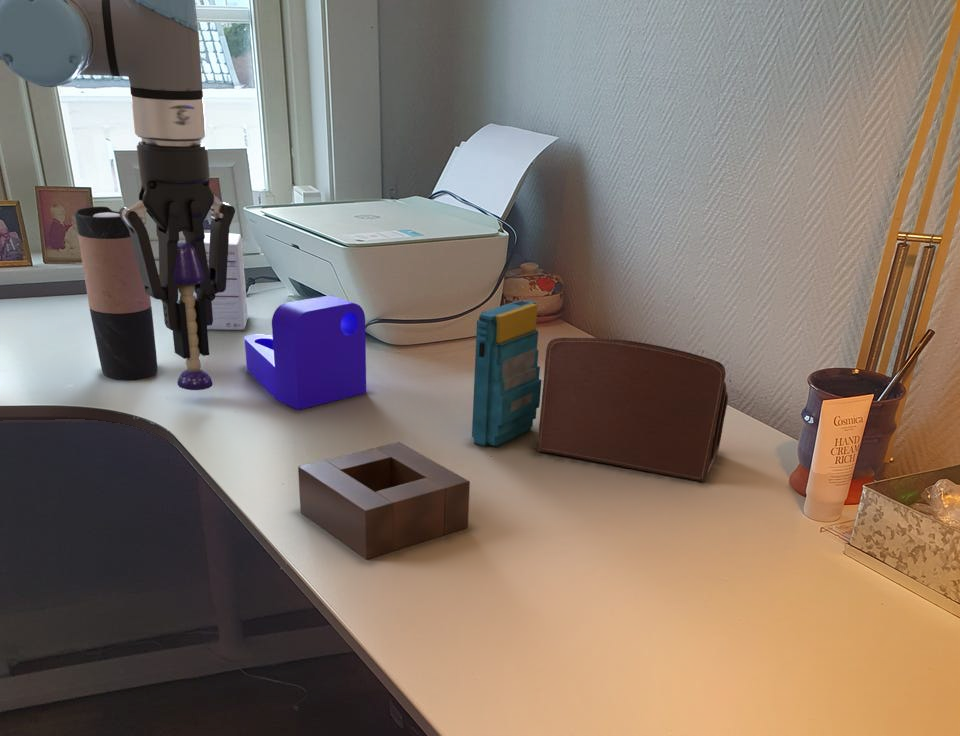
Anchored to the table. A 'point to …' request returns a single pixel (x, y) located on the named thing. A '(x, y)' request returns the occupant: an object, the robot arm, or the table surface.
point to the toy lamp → (190, 314)
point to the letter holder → (632, 406)
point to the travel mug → (116, 296)
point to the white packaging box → (230, 289)
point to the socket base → (383, 498)
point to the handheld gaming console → (505, 373)
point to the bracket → (311, 352)
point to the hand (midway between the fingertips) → (192, 353)
